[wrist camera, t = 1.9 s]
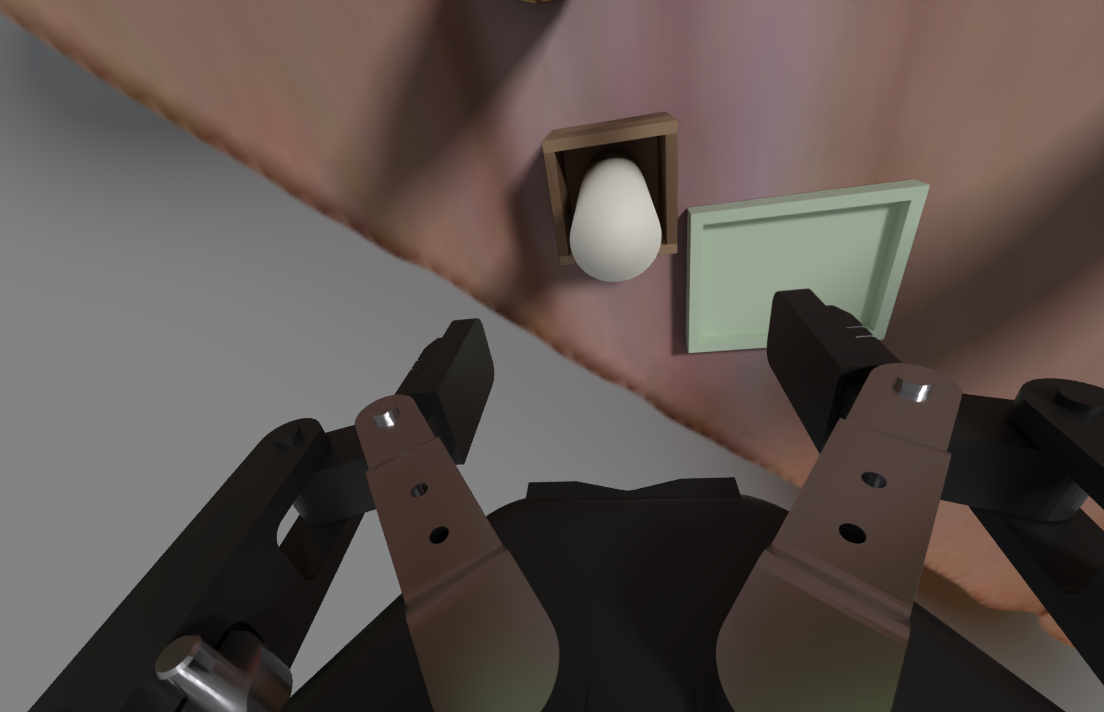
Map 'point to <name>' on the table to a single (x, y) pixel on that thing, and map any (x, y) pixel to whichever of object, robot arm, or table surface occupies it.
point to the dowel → (614, 219)
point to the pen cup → (635, 135)
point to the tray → (797, 258)
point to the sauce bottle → (541, 0)
